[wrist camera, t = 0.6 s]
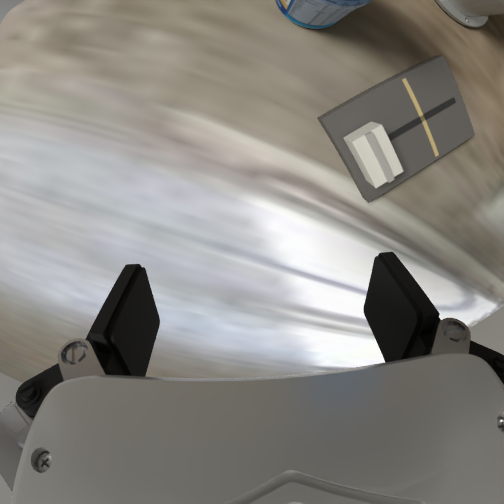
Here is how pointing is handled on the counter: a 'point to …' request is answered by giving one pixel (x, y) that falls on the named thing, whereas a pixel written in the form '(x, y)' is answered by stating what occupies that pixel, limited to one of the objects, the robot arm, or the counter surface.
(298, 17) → the blue lidded canister
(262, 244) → the counter surface
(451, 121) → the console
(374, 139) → the fader knob
